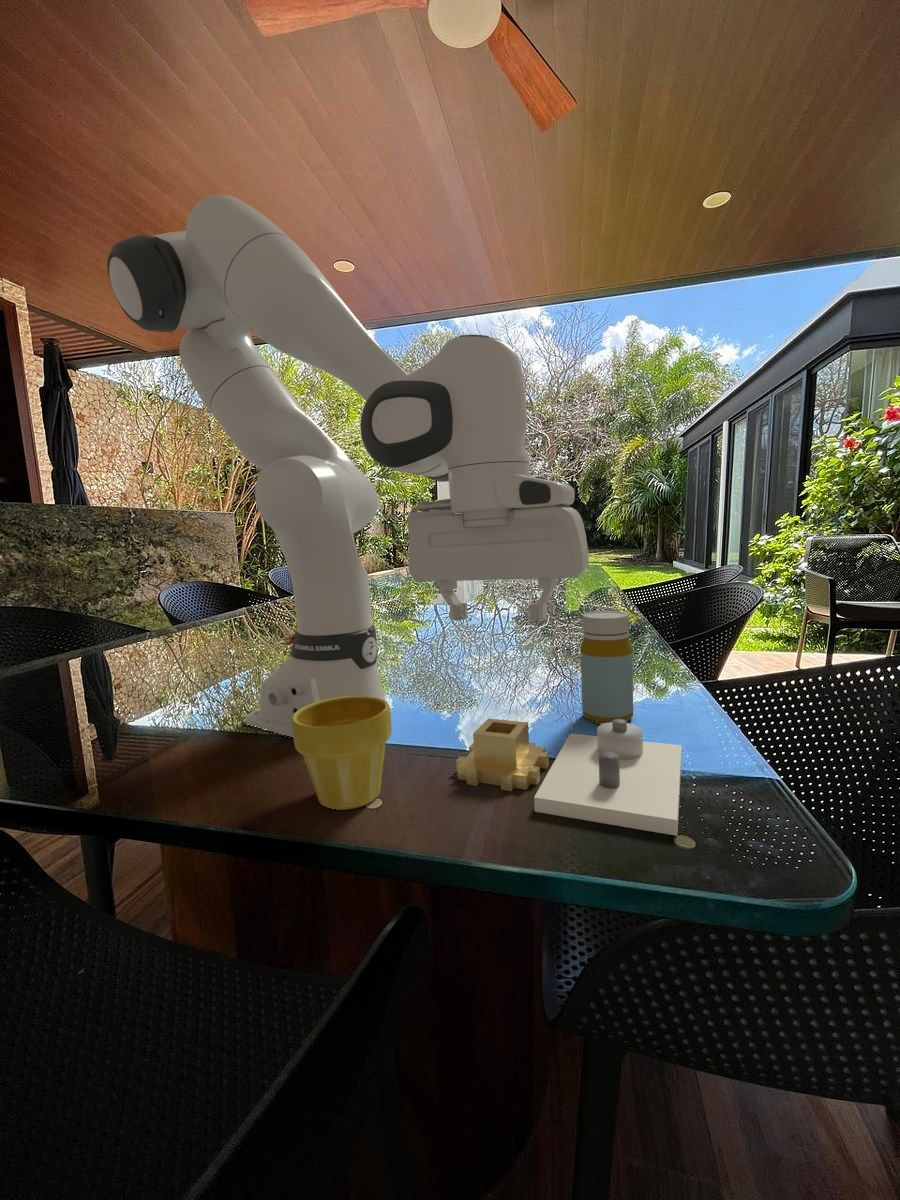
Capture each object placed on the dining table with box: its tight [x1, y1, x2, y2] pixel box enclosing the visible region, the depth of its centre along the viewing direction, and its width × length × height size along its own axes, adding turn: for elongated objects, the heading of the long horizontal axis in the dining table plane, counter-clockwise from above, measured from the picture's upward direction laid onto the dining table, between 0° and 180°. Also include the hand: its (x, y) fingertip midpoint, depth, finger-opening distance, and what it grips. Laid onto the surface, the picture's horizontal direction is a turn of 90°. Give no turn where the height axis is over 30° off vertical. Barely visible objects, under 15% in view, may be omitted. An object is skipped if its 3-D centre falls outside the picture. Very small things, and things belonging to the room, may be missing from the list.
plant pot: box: [292, 696, 392, 811], centre depth 58 cm, size 10×10×10 cm
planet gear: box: [455, 718, 550, 792], centre depth 62 cm, size 10×10×5 cm
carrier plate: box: [533, 719, 683, 837], centre depth 58 cm, size 13×17×5 cm
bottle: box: [580, 610, 634, 724], centre depth 76 cm, size 7×7×15 cm
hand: (497, 619), depth 60 cm, fingers open, 8 cm apart
